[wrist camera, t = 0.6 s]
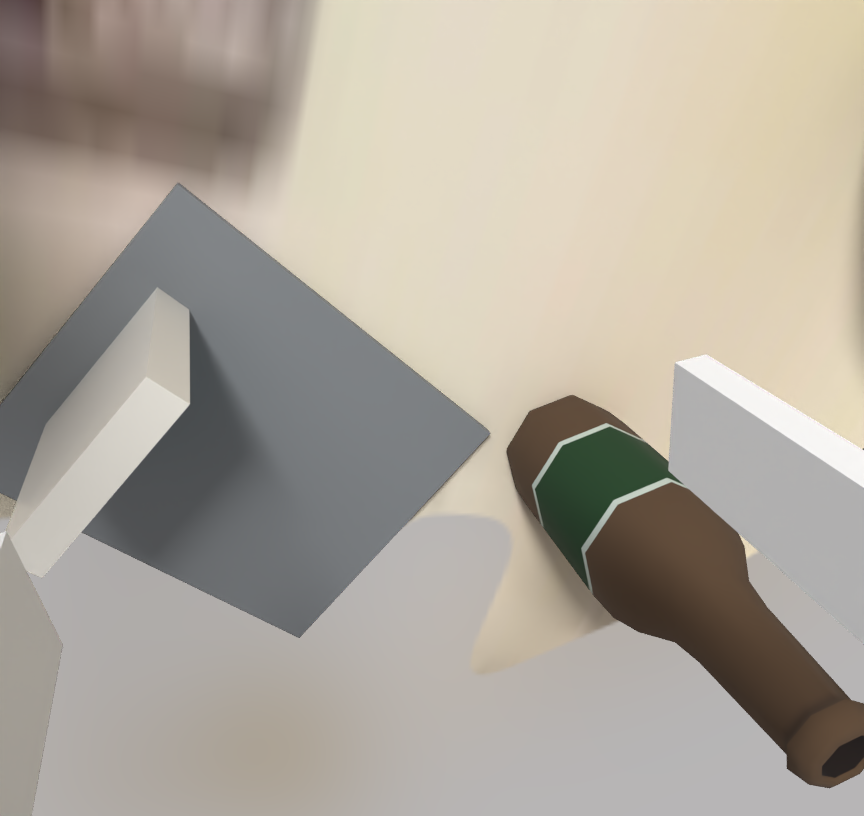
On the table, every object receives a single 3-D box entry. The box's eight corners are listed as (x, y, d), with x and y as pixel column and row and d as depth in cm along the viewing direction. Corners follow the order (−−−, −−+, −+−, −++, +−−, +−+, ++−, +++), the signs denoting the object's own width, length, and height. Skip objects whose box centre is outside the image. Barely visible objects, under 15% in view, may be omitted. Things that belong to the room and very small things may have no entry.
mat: (-47, 462, 36) (-50, 468, 36) (178, 182, 34) (177, 184, 33) (297, 631, 47) (299, 638, 47) (486, 428, 45) (490, 433, 44)
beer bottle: (513, 391, 44) (799, 694, 23) (625, 390, 46) (973, 665, 26) (493, 501, 47) (729, 853, 27) (598, 495, 50) (890, 814, 29)
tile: (45, 424, 36) (-5, 557, 27) (157, 287, 35) (146, 376, 25) (81, 444, 37) (46, 580, 28) (191, 311, 36) (193, 406, 26)
